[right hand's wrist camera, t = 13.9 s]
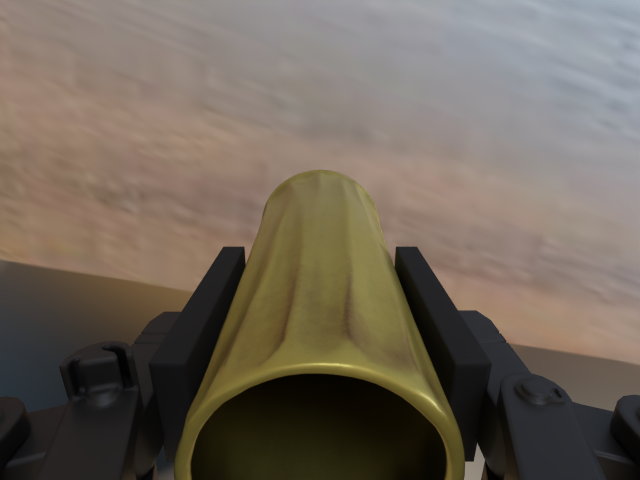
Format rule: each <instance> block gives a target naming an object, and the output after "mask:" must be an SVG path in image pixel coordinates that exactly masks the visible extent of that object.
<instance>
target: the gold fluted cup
mask: <svg viewBox="0 0 640 480" xmlns="http://www.w3.org/2000/svg"><path fill="white" fill-rule="evenodd" d="M464 475H465V457H464V448H463V443H462V438H461V434H460V431H459V428H458V425H457V422H456V420H455V417H454V415H453V413H452V410H451V408H450V405H449V403H448V401H447V399H446V396H445V394H444V391H443V389H442V387H441V384H440V382H439V379H438V377H437V374H436V372H435V369H434V367H433V364H432V362H431V360H430V357H429V355H428V353H427V350H426V348H425V345H424V343H423V340H422V338H421V335H420V333H419V330H418V328H417V326H416V323H415V321H414V318H413V316H412V313H411V310H410V308H409V305H408V303H407V300H406V297H405V294H404V292H403V289H402V286H401V284H400V281H399V278H398V276H397V273H396V271H395V268H394V265H393V262H392V259H391V256H390V254H389V251H388V248H387V246H386V243H385V240H384V237H383V233H382V229H381V226H380V223H379V218H378V212H377V209H376V206H375V204H374V202H373V200H372V198H371V197H370V195H369V194H368V193H367V192H366V190H365V189H364V188H363V187H362V186H361V185H360V184H359V183H357V182H356V181H355V180H353V179H351V178H350V177H348V176H346V175H343V174H340V173H338V172H334V171H328V170H313V171H307V172H303V173H300V174H297V175H295V176H293V177H291V178H289V179H287V180H286V181H284V182H283V183H282V184H281V185H279V186H278V187H277V188H276V190H275V191H274V192H273V193H272V194H271V196H270V197H269V198H268V200H267V202H266V204H265V208H264V211H263V216H262V221H261V225H260V227H259V231H258V234H257V237H256V239H255V242H254V244H253V247H252V250H251V252H250V255H249V258H248V261H247V264H246V266H245V269H244V272H243V274H242V277H241V279H240V282H239V285H238V288H237V290H236V293H235V296H234V298H233V301H232V303H231V306H230V309H229V311H228V314H227V317H226V319H225V322H224V324H223V327H222V329H221V332H220V335H219V337H218V340H217V343H216V346H215V348H214V351H213V354H212V357H211V360H210V363H209V366H208V368H207V371H206V373H205V376H204V378H203V380H202V383H201V385H200V388H199V390H198V392H197V395H196V397H195V398H194V400H193V402H192V404H191V407H190V409H189V411H188V413H187V417H186V421H185V426H184V430H183V433H182V437H181V440H180V442H179V445H178V448H177V451H176V456H175V461H174V478H175V480H464Z"/></svg>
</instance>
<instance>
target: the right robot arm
mask: <svg viewBox="0 0 640 480" xmlns="http://www.w3.org/2000/svg"><path fill="white" fill-rule="evenodd" d="M245 266H246V264H245V250H244V247H223V248H222V250H221V251H220V253H219V255H218V256H217V258H216V259H215V261H214V262H213V264H212V265H211V267H210V269H209V270H208V272H207V273H206V275H205V276H204V278H203V279H202V281H201V282H200V284H199V286H198V287H197V289H196V290H195V292H194V293H193V295H192V297H191V298H190V300H189V301H188V303H187V304H186V306H185V307H184V309H183V310H182V312H163V313H162V314H160V315H159V316H157V317H156V318H154V319H153V320H151V321H150V322H149V323H148V325H147V326H146V327H145V329H144V330H143V331H142V334H141V335H139V336H138V338H137V339H136V340H135V342H134V344H133V345H132V346H131V347H130V346H129V345H128V344H127V343H123V342H118V341H110V342H101V343H97V344H93V345H90V346H87V347H85V348H83V349H80V350H78V351H76V352H75V353H73V354H72V355H70V356H69V357H67V358H66V359H65V360H64V362H63V363H62V364H61V365H60V366H59V368H60V372H61V375H62V378H63V382H64V385H65V389H66V392H67V396H68V399H69V401H68V403H67V404H65V405H61V406H57V407H53V408H49V409H44V410H40V411H35V412H31V413H27V412H26V409H25V406H24V403H23V402H22V401H21V400H19V399H18V398H15V397H7V396H6V397H0V480H158V475H157V468H156V463H155V461H156V459H157V457H158V454H159V452H160V450H161V448H162V445H163V444H164V450H165V455H166V460H167V461H175V456H176V451H177V448H178V445H179V442H180V440H181V437H182V433H183V430H184V426H185V421H186V417H187V413H188V411H189V409H190V407H191V404H192V402H193V400H194V398H195V397H196V395H197V392H198V390H199V388H200V385H201V383H202V380H203V378H204V376H205V373H206V371H207V368H208V366H209V363H210V360H211V357H212V354H213V351H214V348H215V346H216V343H217V340H218V337H219V335H220V332H221V329H222V327H223V324H224V322H225V319H226V317H227V314H228V311H229V309H230V306H231V303H232V301H233V298H234V296H235V293H236V290H237V288H238V285H239V282H240V279H241V277H242V274H243V272H244V269H245ZM395 271H396V273H397V276H398V278H399V281H400V284H401V286H402V289H403V292H404V294H405V297H406V300H407V303H408V305H409V308H410V310H411V313H412V316H413V318H414V321H415V323H416V326H417V328H418V330H419V333H420V335H421V338H422V340H423V343H424V345H425V348H426V350H427V353H428V355H429V357H430V360H431V362H432V364H433V367H434V369H435V372H436V374H437V377H438V379H439V382H440V384H441V387H442V389H443V391H444V394H445V396H446V399H447V401H448V403H449V405H450V408H451V410H452V413H453V415H454V417H455V420H456V422H457V425H458V428H459V431H460V434H461V438H462V443H463V448H464V457H465V461H474V456H475V451H476V446H477V443H478V445H479V447H480V449H481V452H482V454H483V456H484V458H485V463H484V468H483V473H482V478H481V480H640V396H639V395H629V396H623V397H622V398H621V399H619V400H618V401H617V404H616V407H615V410H614V412H613V411H608V410H604V409H599V408H595V407H590V406H586V405H581V404H578V403H574V402H572V400H571V399H570V397H569V396H568V394H567V393H566V392H565V391H564V390H563V389H562V388H561V387H559V386H558V385H557V384H555V383H554V382H552V381H550V380H548V379H546V378H544V377H542V376H539V375H535V374H531V372H530V371H529V370H528V368H527V367H526V366H525V365H524V363H523V362H522V361H521V359H520V358H519V357H518V355H517V354H516V353H515V351H514V350H513V349H512V348H511V346H510V345H509V344H508V343H506V340H505V338H504V337H503V336H502V334H501V333H499V330H498V329H497V328H496V327H495V325H494V324H493V323H492V321H491V320H490V319H488V318H487V317H485V316H484V315H482V314H481V313H479V312H478V311H458V310H457V308H456V307H455V305H454V304H453V302H452V301H451V299H450V298H449V296H448V294H447V293H446V291H445V290H444V288H443V287H442V285H441V284H440V282H439V280H438V279H437V277H436V276H435V274H434V273H433V271H432V270H431V268H430V267H429V265H428V263H427V262H426V260H425V259H424V257H423V256H422V254H421V253H420V251H419V249H418V248H417V247H396V254H395Z"/></svg>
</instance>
